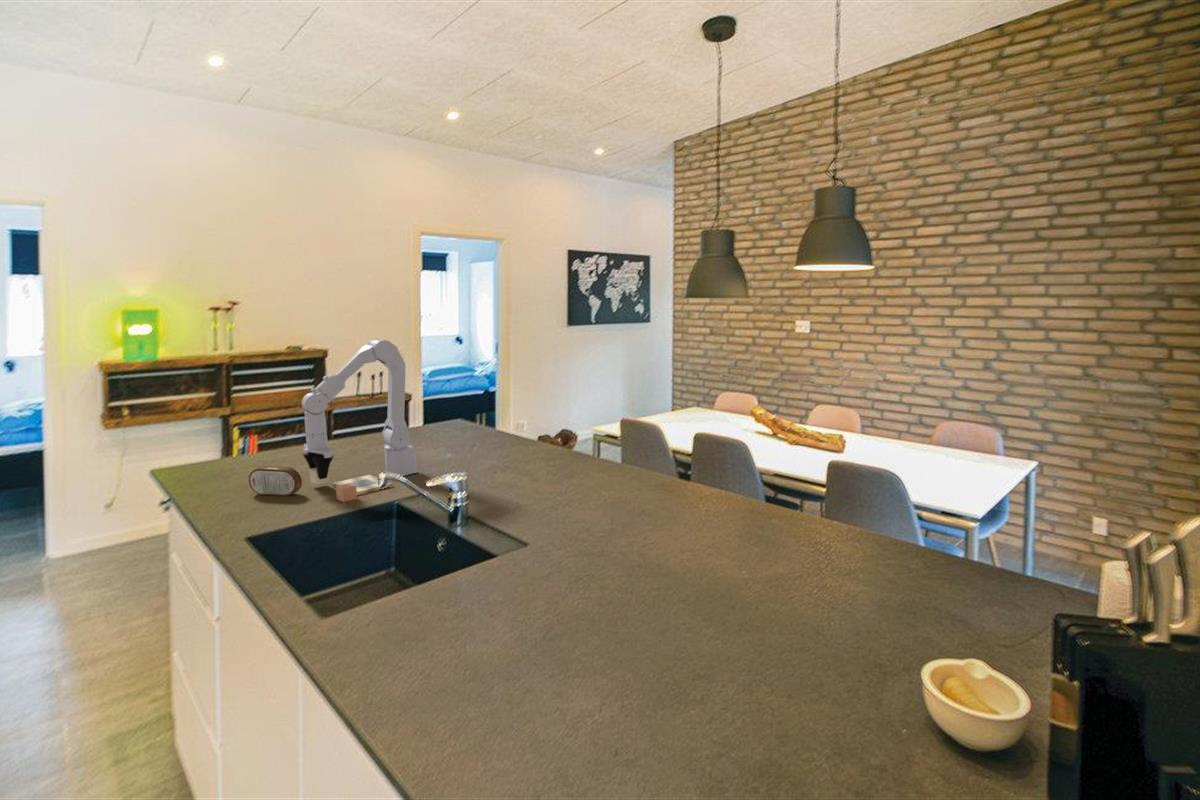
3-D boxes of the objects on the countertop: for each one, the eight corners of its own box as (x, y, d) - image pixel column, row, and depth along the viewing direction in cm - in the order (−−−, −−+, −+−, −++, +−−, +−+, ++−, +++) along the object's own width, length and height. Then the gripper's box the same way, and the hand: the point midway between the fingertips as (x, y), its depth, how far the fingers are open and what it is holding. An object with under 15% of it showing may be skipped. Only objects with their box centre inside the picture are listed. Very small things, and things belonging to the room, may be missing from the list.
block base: (323, 478, 190) (322, 466, 189) (329, 481, 187) (328, 468, 187) (310, 481, 187) (309, 468, 186) (316, 484, 184) (315, 471, 184)
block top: (350, 496, 179) (349, 483, 178) (357, 499, 176) (356, 485, 176) (336, 499, 176) (335, 486, 175) (343, 502, 173) (342, 488, 173)
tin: (303, 494, 181) (301, 466, 179) (297, 497, 178) (295, 469, 176) (255, 492, 182) (252, 464, 181) (248, 495, 179) (245, 467, 178)
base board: (369, 477, 197) (369, 474, 197) (392, 486, 188) (392, 483, 188) (332, 486, 188) (332, 482, 188) (355, 495, 179) (355, 492, 179)
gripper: (292, 431, 186) (295, 475, 189) (313, 438, 177) (317, 484, 179) (315, 428, 192) (318, 470, 194) (337, 434, 182) (340, 479, 184)
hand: (319, 476), depth 187 cm, fingers closed on block base, 4 cm apart
